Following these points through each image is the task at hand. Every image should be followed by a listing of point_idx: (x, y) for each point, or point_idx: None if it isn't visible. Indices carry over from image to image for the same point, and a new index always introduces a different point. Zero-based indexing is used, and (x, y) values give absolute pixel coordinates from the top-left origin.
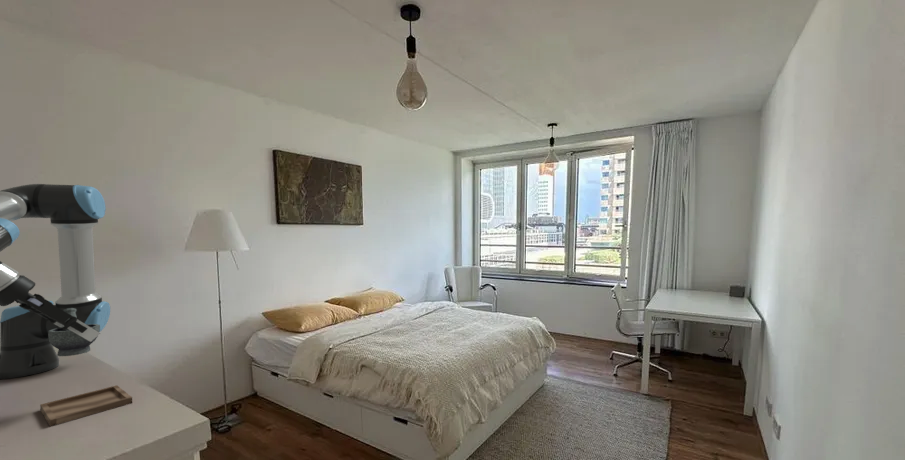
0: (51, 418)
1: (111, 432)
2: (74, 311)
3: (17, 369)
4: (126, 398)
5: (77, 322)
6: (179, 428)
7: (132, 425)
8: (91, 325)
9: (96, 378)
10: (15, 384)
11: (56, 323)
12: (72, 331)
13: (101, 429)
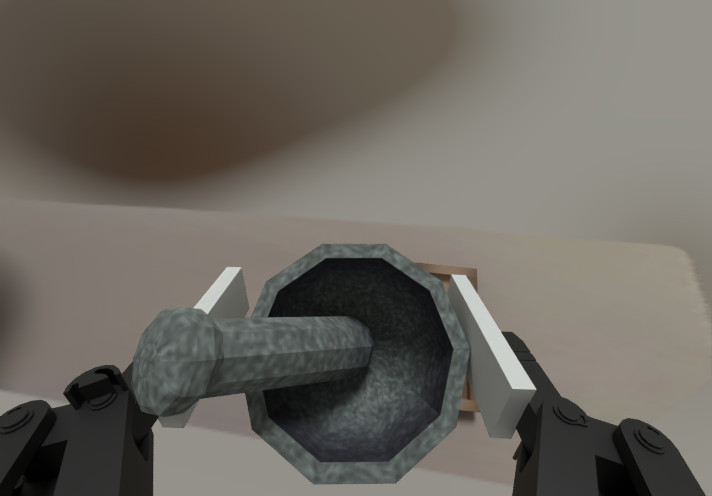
0: (469, 407)
1: (611, 348)
2: (219, 329)
3: None
4: (473, 278)
5: (558, 395)
6: (688, 277)
7: (605, 315)
8: (320, 264)
9: (198, 251)
10: (20, 376)
11: (187, 416)
12: (474, 394)
13: (578, 354)
